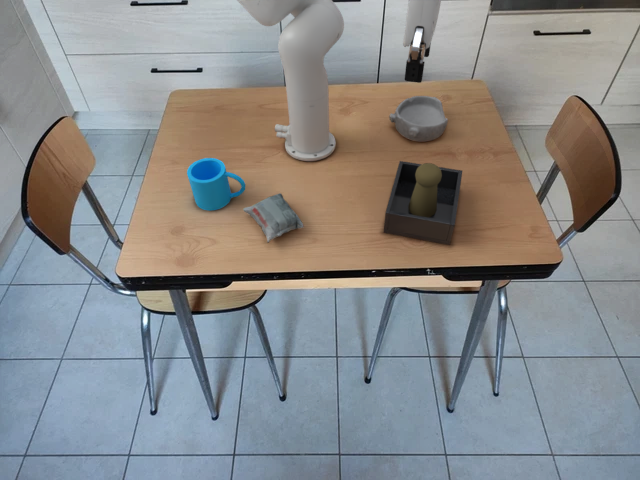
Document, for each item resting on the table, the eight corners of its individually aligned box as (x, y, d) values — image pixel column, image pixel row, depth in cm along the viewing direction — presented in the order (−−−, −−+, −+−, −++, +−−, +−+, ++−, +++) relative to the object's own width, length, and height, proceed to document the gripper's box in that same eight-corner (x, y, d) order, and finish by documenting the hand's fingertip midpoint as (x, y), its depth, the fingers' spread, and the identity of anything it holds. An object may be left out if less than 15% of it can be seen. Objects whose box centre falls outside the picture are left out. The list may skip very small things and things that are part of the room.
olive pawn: (436, 219, 103) (444, 180, 94) (407, 215, 104) (413, 176, 95) (437, 199, 106) (445, 160, 98) (409, 196, 107) (415, 157, 99)
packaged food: (268, 250, 100) (266, 233, 96) (243, 215, 106) (240, 198, 103) (305, 233, 102) (304, 217, 99) (279, 200, 109) (277, 183, 106)
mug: (191, 210, 108) (182, 182, 102) (199, 185, 113) (191, 157, 107) (245, 211, 107) (239, 183, 101) (250, 186, 113) (245, 158, 106)
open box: (383, 232, 102) (385, 212, 97) (397, 181, 112) (399, 160, 108) (449, 245, 99) (454, 225, 95) (457, 191, 110) (462, 170, 105)
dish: (430, 106, 132) (433, 90, 128) (458, 135, 123) (461, 118, 119) (381, 119, 128) (383, 102, 125) (406, 149, 120) (408, 132, 116)
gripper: (415, -47, 88) (405, 44, 101) (398, -8, 77) (389, 89, 90) (457, -44, 87) (441, 48, 100) (446, -3, 76) (430, 94, 89)
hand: (417, 68), depth 95 cm, fingers open, 9 cm apart
